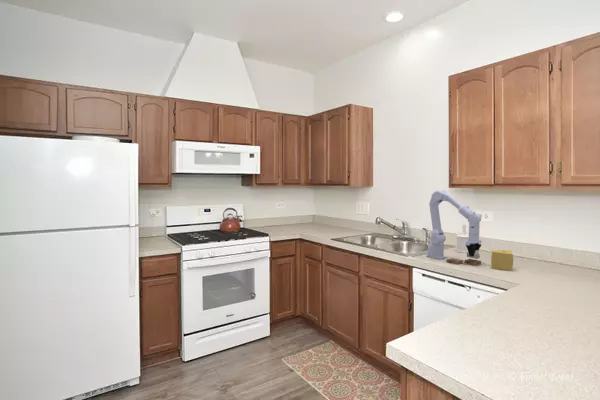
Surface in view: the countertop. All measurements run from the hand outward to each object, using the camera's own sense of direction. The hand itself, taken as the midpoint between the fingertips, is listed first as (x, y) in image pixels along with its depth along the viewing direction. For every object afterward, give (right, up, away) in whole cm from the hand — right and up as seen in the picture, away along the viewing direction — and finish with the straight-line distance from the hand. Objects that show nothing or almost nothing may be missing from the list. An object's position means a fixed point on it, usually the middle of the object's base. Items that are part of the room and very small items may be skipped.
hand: (473, 255), depth 201 cm
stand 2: (0, -5, 0) cm, 5 cm away
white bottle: (+13, -3, +36) cm, 38 cm away
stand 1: (-11, -5, +2) cm, 12 cm away
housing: (0, -1, 0) cm, 1 cm away
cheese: (+12, -6, -9) cm, 16 cm away
